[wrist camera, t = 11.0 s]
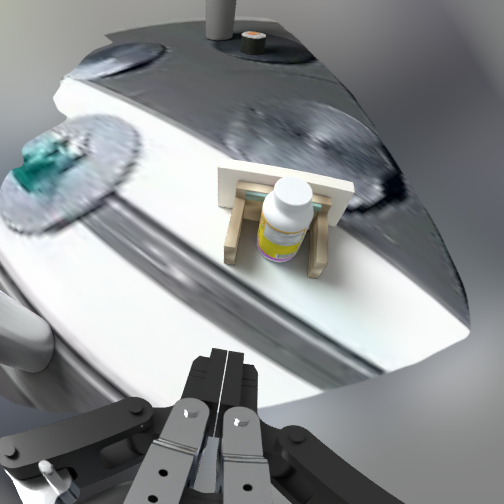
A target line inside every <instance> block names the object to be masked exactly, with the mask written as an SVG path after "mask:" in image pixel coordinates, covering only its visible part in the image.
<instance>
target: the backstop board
mask: <svg viewBox="0 0 504 504" xmlns="http://www.w3.org/2000/svg"><path fill="white" fill-rule="evenodd" d="M284 177H297V178H300V179H302V180H304V181H305V182H307V183H308V184H309V185H310V187H311V189H312V192H313V194H316V195H321V196H325V197H330V198H331V203H332V206H331V208H330V210H329V212H328V225H329V226H334V227H336V225H337V223H338V221H339V220H340V218H341V216H342V214H343V212H344V211H345V209H346V207H347V205H348V203H349V201H350V200H351V198H352V196H353V194H354V185H353V183H352V182H348V181H344V180H339V179H335V178H331V177H326V176H321V175H317V174H312V173H307V172H302V171H297V170H292V169H286V168H281V167H275V166H270V165H264V164H258V163H251V162H245V161H238V160H231V159H224V158H221V159H220V162H219V165H218V206H220V207H227V208H233V205H234V201H235V195H236V186H237V182H238V181H243V182H250V183H256V184H262V185H268V186H273V187H275V184H276V182H277V181H278V180H280V179H281V178H284Z"/></svg>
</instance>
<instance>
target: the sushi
mask: <svg viewBox="0 0 504 504" xmlns="http://www.w3.org/2000/svg"><path fill="white" fill-rule="evenodd" d="M265 40H266V35H265V34H263V33H261V34H260V33H259V32H258V33H256V32H250V31H248V32H244V33H242V39H241V52H244V53H246V54H250V55H258V54H262V53H264V48H265Z"/></svg>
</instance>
